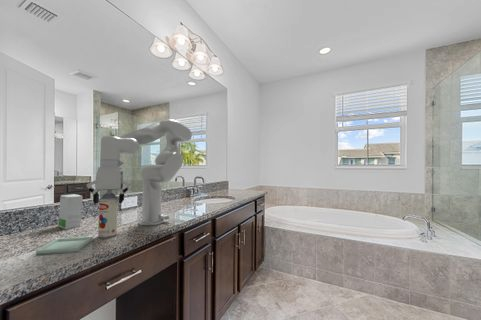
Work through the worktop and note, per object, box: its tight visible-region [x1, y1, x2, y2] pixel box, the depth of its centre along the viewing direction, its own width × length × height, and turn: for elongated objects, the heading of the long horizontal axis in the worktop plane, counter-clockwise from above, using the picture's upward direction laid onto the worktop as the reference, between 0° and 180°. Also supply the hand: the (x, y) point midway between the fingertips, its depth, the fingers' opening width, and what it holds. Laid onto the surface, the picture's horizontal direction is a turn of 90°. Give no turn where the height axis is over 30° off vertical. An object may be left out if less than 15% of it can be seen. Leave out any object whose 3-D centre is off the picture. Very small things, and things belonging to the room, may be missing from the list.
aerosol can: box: [97, 190, 119, 239], centre depth 92 cm, size 7×7×20 cm
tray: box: [35, 236, 94, 256], centre depth 79 cm, size 12×12×2 cm
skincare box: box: [57, 193, 83, 230], centre depth 105 cm, size 8×7×16 cm
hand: (108, 203), depth 92 cm, fingers open, 9 cm apart
